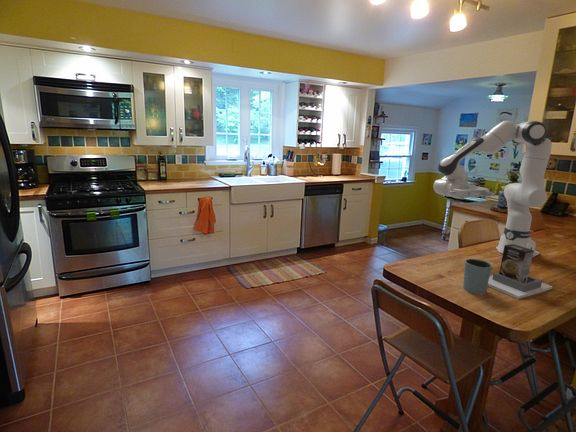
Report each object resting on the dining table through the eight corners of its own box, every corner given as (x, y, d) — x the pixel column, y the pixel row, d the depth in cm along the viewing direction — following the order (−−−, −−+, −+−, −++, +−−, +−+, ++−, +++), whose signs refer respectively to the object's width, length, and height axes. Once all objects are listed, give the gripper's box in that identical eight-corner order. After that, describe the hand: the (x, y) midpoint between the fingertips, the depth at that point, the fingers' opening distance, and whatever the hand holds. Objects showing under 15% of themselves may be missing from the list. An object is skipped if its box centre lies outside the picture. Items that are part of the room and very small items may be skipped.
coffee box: (496, 279, 153) (503, 244, 149) (506, 277, 155) (512, 243, 152) (517, 287, 145) (525, 251, 141) (527, 285, 148) (534, 249, 144)
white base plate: (509, 273, 163) (511, 265, 162) (551, 289, 148) (553, 280, 147) (476, 281, 153) (478, 272, 152) (518, 299, 137) (520, 289, 136)
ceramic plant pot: (476, 296, 138) (481, 268, 135) (455, 286, 147) (459, 259, 144) (493, 292, 142) (498, 265, 139) (471, 283, 151) (476, 257, 148)
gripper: (448, 185, 176) (472, 189, 164) (474, 184, 185) (499, 188, 173) (446, 197, 177) (470, 202, 165) (472, 195, 186) (497, 200, 174)
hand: (485, 195), depth 169 cm, fingers open, 8 cm apart
